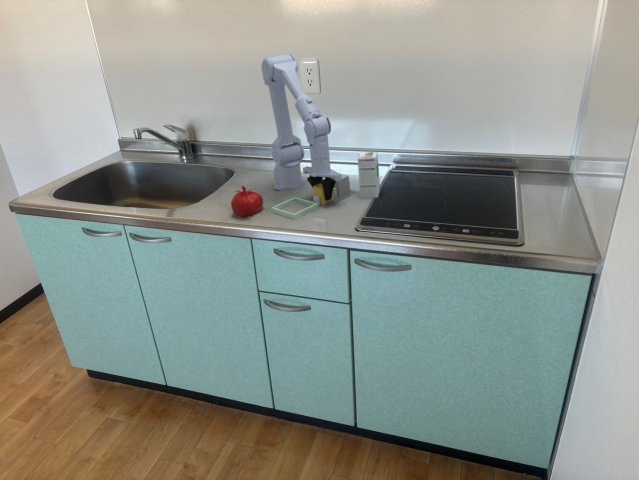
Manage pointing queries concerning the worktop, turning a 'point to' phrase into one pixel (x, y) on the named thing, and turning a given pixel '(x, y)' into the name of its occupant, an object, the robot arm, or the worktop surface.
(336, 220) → the worktop surface
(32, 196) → the worktop surface
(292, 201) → the tray
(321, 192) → the block
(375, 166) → the syrup box
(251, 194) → the pomegranate
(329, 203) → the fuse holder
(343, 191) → the grey rectangular block
